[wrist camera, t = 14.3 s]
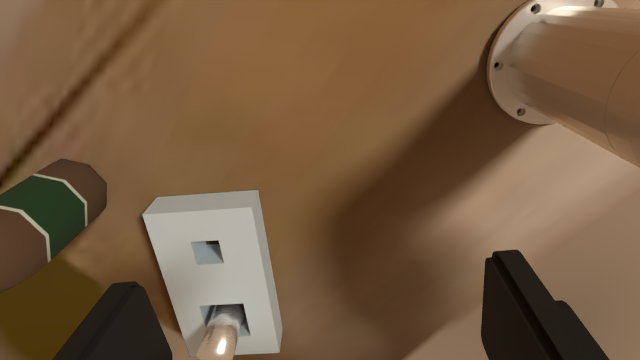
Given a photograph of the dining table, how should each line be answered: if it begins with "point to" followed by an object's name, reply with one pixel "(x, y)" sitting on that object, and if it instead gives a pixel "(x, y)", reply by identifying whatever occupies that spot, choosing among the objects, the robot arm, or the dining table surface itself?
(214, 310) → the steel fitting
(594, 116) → the robot arm
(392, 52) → the dining table surface
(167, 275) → the manifold block
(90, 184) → the beer bottle
